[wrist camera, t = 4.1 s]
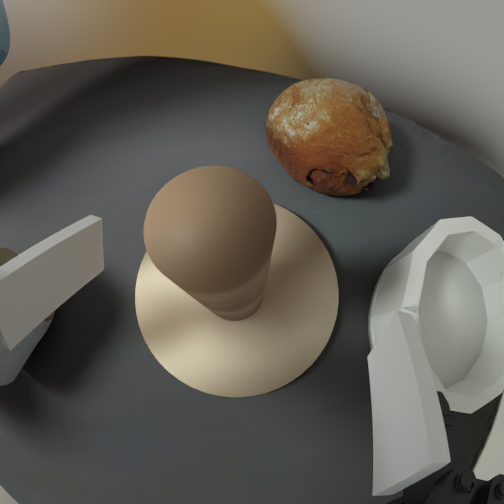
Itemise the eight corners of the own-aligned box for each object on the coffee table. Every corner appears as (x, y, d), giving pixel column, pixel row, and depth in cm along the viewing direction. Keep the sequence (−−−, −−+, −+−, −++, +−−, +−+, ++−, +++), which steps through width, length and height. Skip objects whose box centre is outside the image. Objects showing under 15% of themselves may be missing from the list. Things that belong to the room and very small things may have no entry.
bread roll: (351, 140, 26) (353, 68, 20) (412, 196, 19) (431, 101, 13) (259, 155, 25) (249, 75, 20) (298, 222, 18) (294, 104, 13)
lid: (109, 273, 18) (2, 205, 8) (253, 172, 21) (253, 45, 10) (216, 431, 15) (168, 528, 4) (372, 308, 17) (487, 261, 7)
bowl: (332, 315, 17) (360, 304, 12) (431, 216, 19) (464, 187, 14) (422, 431, 14) (462, 447, 9) (501, 321, 16) (539, 311, 11)
